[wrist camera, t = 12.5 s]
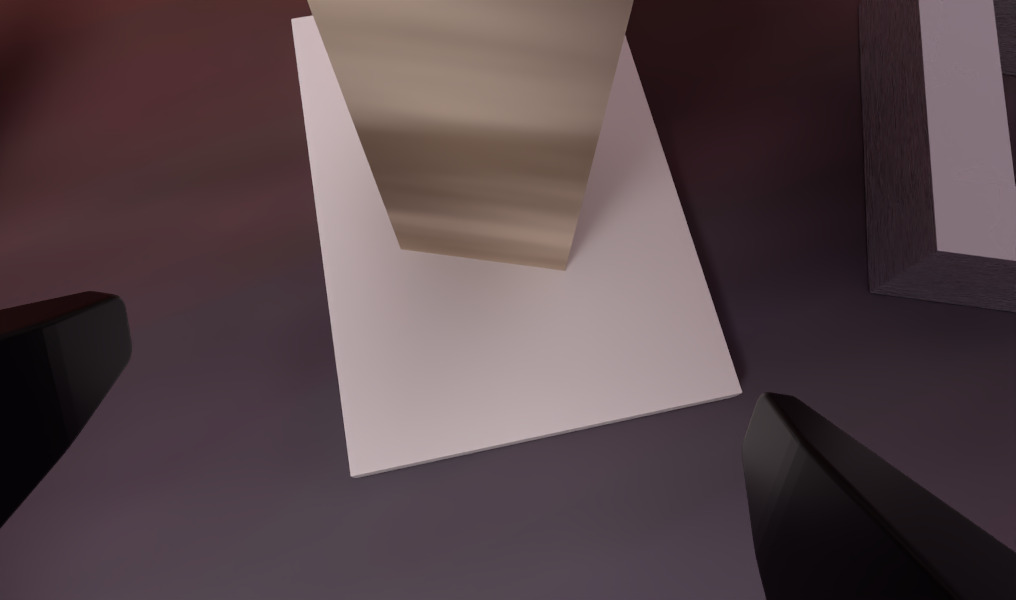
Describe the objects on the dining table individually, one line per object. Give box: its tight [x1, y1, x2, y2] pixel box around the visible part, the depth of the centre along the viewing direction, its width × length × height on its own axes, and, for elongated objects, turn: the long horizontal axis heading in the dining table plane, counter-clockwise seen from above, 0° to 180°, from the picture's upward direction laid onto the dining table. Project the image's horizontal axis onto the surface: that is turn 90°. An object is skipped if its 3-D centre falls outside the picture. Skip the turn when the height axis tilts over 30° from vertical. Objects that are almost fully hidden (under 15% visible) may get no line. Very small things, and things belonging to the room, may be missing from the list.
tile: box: [291, 16, 742, 478], centre depth 19 cm, size 14×10×1 cm
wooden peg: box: [307, 0, 634, 271], centre depth 12 cm, size 4×4×13 cm
